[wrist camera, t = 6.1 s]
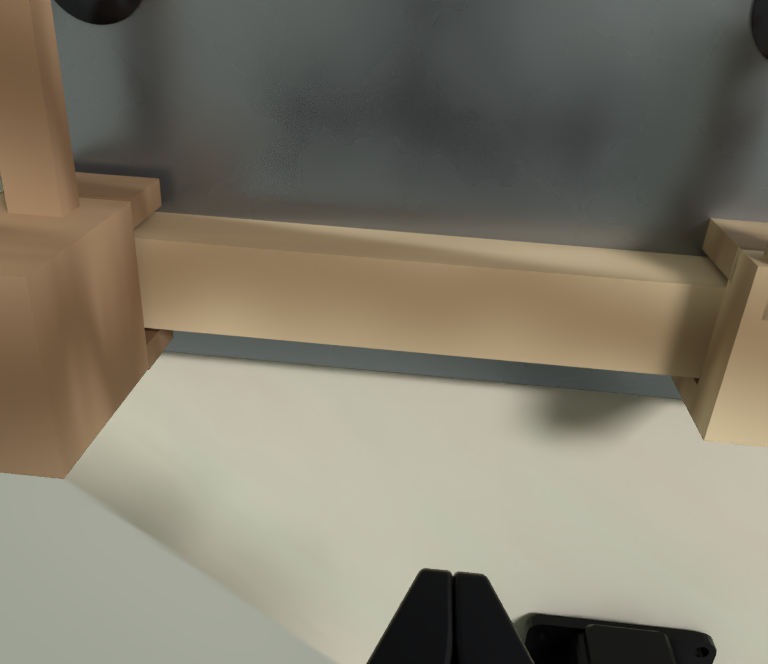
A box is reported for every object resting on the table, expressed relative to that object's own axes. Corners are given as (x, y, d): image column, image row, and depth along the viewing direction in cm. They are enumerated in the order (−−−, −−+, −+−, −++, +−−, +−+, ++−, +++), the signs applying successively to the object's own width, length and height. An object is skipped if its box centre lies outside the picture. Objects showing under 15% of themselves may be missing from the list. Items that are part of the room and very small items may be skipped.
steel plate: (794, 391, 21) (811, 412, 20) (54, 324, 22) (36, 340, 21) (1063, -337, 14) (1108, -360, 13) (-67, -375, 15) (-103, -399, 14)
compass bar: (818, 386, 20) (880, 457, 17) (33, 314, 21) (-34, 369, 18) (985, -48, 15) (1109, -50, 12) (-46, -107, 16) (-154, -122, 13)
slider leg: (175, 335, 20) (64, 480, 15) (71, 325, 20) (-79, 465, 15) (137, -97, 16) (-51, -132, 10) (2, -104, 16) (-260, -143, 10)
